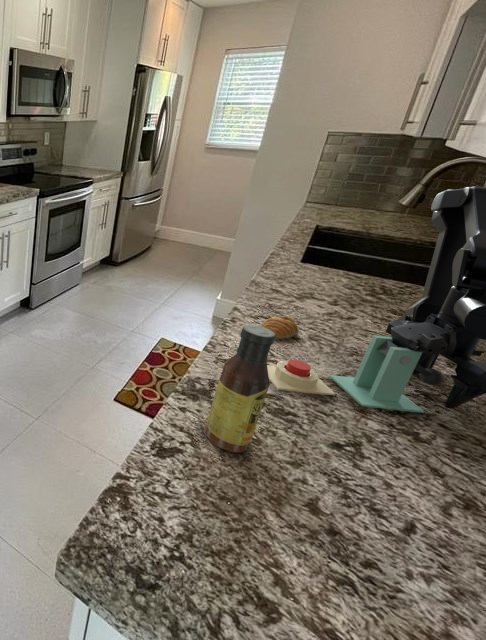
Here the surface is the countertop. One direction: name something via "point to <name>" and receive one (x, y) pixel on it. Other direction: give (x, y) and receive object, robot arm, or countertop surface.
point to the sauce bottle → (241, 391)
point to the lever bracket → (382, 377)
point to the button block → (296, 380)
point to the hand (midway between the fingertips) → (425, 391)
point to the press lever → (418, 368)
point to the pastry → (281, 326)
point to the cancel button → (298, 368)
